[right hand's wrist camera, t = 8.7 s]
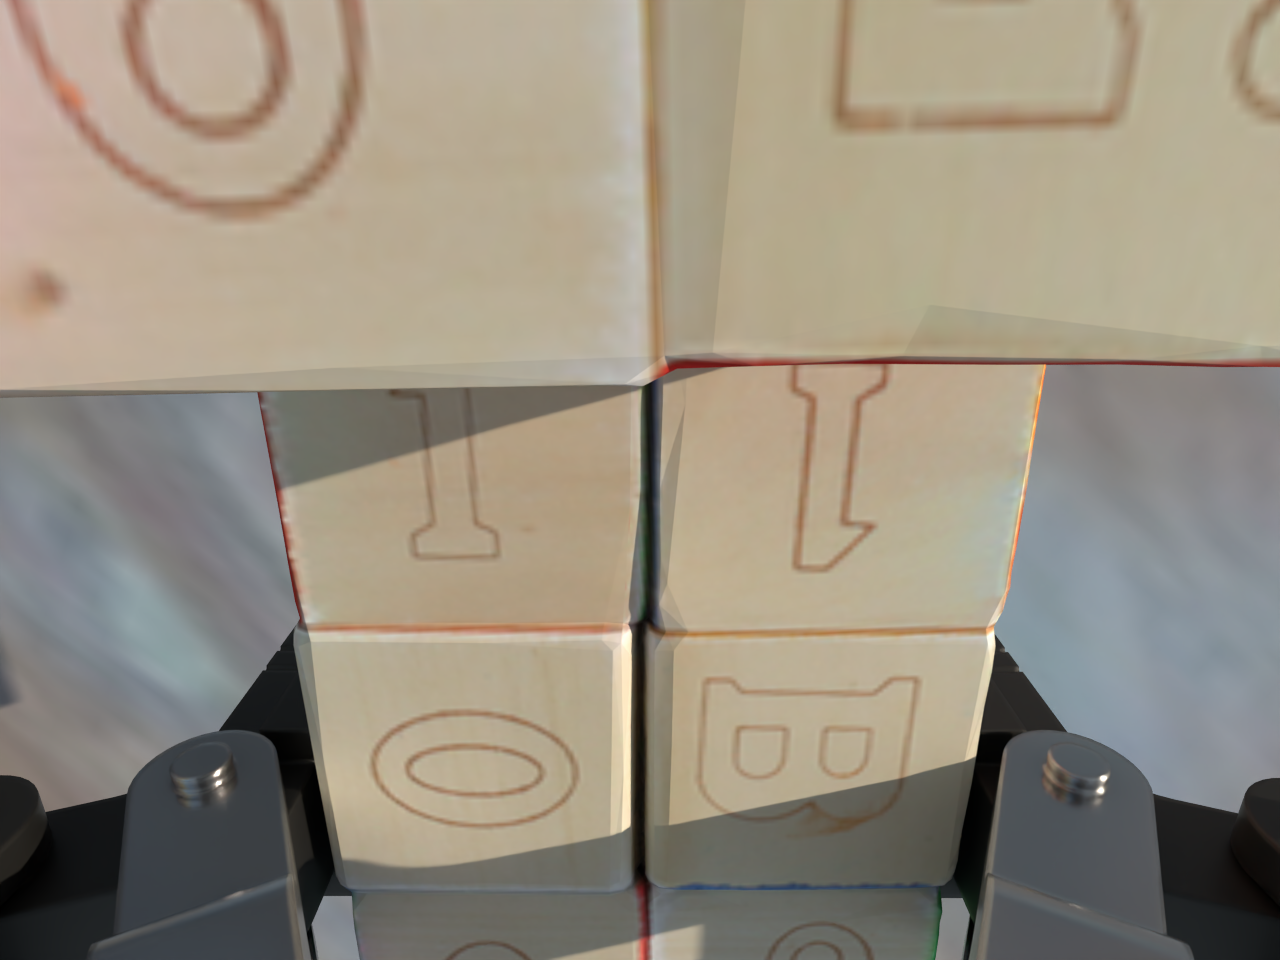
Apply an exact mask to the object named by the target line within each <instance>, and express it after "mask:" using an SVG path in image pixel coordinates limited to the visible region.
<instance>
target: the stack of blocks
mask: <svg viewBox="0 0 1280 960" xmlns="http://www.w3.org/2000/svg"><path fill="white" fill-rule="evenodd" d="M1075 364H1125V365H1165V366H1206V367H1280V0H0V398H5V397H52V396H99V395H146V394H193V393H240V392H258V398H259V403H260V409H261V414H262V420H263V425H264V431H265V436H266V442H267V447H268V453H269V458H270V463H271V469H272V474H273V480H274V485H275V491H276V496H277V502H278V507H279V513H280V519H281V524H282V530H283V536H284V542H285V547H286V553H287V559H288V565H289V570H290V576H291V581H292V587H293V592H294V597H295V602H296V606H297V609H298V613H299V616H300V620H299V621H298V623H297V625H296V627H295V628H294V650H295V656H296V661H297V667H298V672H299V678H300V683H301V689H302V694H303V700H304V705H305V711H306V716H307V722H308V727H309V732H310V738H311V743H312V749H313V754H314V760H315V765H316V771H317V776H318V782H319V787H320V792H321V798H322V803H323V808H324V814H325V819H326V824H327V830H328V835H329V840H330V846H331V851H332V856H333V862H334V867H335V873H336V876H337V878H338V880H339V882H340V884H341V885H342V886H344V887H345V888H347V889H348V890H349V891H351V892H352V904H353V918H354V926H355V934H356V940H357V945H358V951H359V957H360V960H935V957H936V950H937V944H938V937H939V924H940V919H941V915H942V903H941V890H940V886H942V885H945V884H946V883H947V882H948V881H949V880H951V879H952V877H953V874H954V872H955V868H956V864H957V861H958V854H959V848H960V841H961V834H962V828H963V823H964V818H965V813H966V808H967V803H968V798H969V793H970V788H971V783H972V778H973V771H974V765H975V759H976V753H977V747H978V741H979V735H980V729H981V723H982V717H983V710H984V705H985V701H986V696H987V691H988V687H989V682H990V677H991V673H992V667H993V660H994V653H995V636H994V625H995V623H996V622H997V620H998V618H999V616H1000V615H1001V613H1002V611H1003V608H1004V604H1005V600H1006V597H1007V594H1008V592H1009V589H1010V582H1011V570H1012V566H1013V561H1014V556H1015V551H1016V546H1017V541H1018V535H1019V529H1020V524H1021V518H1022V512H1023V506H1024V501H1025V495H1026V488H1027V482H1028V475H1029V468H1030V461H1031V454H1032V447H1033V441H1034V435H1035V428H1036V422H1037V416H1038V410H1039V404H1040V398H1041V391H1042V386H1043V380H1044V374H1045V368H1046V365H1075Z"/></svg>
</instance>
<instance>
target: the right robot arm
mask: <svg viewBox="0 0 1280 960" xmlns="http://www.w3.org/2000/svg"><path fill="white" fill-rule="evenodd" d="M295 627H296V626H295ZM295 627H294V628H295ZM994 636H995V653H994V660H993V667H992V673H991V677H990V682H989V687H988V691H987V696H986V701H985V705H984V710H983V717H982V723H981V729H980V735H979V741H978V747H977V753H976V759H975V765H974V771H973V778H972V783H971V788H970V793H969V798H968V803H967V808H966V813H965V818H964V823H963V828H962V834H961V841H960V848H959V854H958V861H957V864H956V868H955V872H954V874H953V877H952V879H951V880H949V881H948V882H947V883H946V884H945V885H942V886H940V890H941V898H963V900H964V902H965V905H966V907H967V909H968V911H969V914H970V917H969V921H968V926H967V931H966V936H965V941H964V947H963V954H962V960H1280V778H1271V779H1265V780H1261V781H1258V782H1256V783H1254V784H1253V785H1251V786H1250V787H1249V788H1248V790H1247V791H1246V793H1245V796H1244V799H1243V801H1242V804H1241V807H1240V810H1239V813H1234V812H1229V811H1224V810H1220V809H1215V808H1211V807H1206V806H1202V805H1197V804H1193V803H1188V802H1183V801H1179V800H1174V799H1170V798H1166V797H1163V796H1159V795H1156V794H1153V793H1152V788H1151V786H1150V784H1149V782H1148V781H1147V779H1146V778H1145V776H1144V775H1143V774H1142V772H1141V771H1140V770H1139V769H1138V768H1137V767H1136V766H1135V765H1134V764H1133V763H1131V762H1130V761H1129V760H1128V759H1126V758H1125V757H1124V756H1122V755H1121V754H1119V753H1118V752H1116V751H1114V750H1113V749H1111V748H1109V747H1107V746H1105V745H1103V744H1101V743H1099V742H1096V741H1094V740H1092V739H1089V738H1086V737H1083V736H1080V735H1077V734H1072V733H1068V732H1067V731H1066V730H1065V728H1064V727H1063V726H1062V724H1061V723H1060V722H1059V720H1058V719H1057V718H1056V716H1055V715H1054V714H1053V712H1052V711H1051V710H1050V708H1049V707H1048V706H1047V704H1046V703H1045V701H1044V700H1043V699H1042V697H1041V696H1040V695H1039V693H1038V692H1037V691H1036V689H1035V688H1034V687H1033V685H1032V684H1031V683H1030V681H1029V680H1028V679H1027V677H1026V676H1025V674H1024V673H1023V672H1019V666H1018V665H1017V664H1016V662H1015V661H1014V660H1013V658H1012V657H1011V656H1010V654H1009V653H1008V652H1005V647H1004V646H1003V645H1002V643H1001V642H1000V641H999V639H998V638H997V637H996V635H995V634H994ZM323 896H352V892H351V891H349V890H348V889H347V888H345V887H344V886H342V885H341V884H340V882H339V880H338V878H337V876H336V873H335V867H334V862H333V856H332V851H331V846H330V840H329V835H328V830H327V824H326V819H325V814H324V808H323V803H322V798H321V792H320V787H319V782H318V776H317V771H316V765H315V760H314V754H313V749H312V743H311V738H310V732H309V727H308V722H307V716H306V711H305V705H304V700H303V694H302V689H301V683H300V678H299V672H298V667H297V661H296V656H295V650H294V629H293V630H292V632H291V633H290V634H289V636H288V637H287V638H286V640H285V641H284V642H283V644H282V645H281V650H280V651H277V652H276V653H275V655H274V656H273V658H272V659H271V660H270V662H269V663H268V664H267V669H266V671H262V673H261V674H260V675H259V677H258V678H257V679H256V681H255V682H254V683H253V685H252V686H251V688H250V689H249V690H248V692H247V693H246V694H245V696H244V697H243V699H242V700H241V701H240V703H239V704H238V705H237V707H236V708H235V709H234V711H233V712H232V714H231V715H230V716H229V718H228V719H227V720H226V722H225V723H224V724H223V726H222V727H221V729H220V730H219V731H217V732H212V733H208V734H203V735H200V736H197V737H194V738H191V739H188V740H186V741H184V742H181V743H179V744H177V745H175V746H173V747H171V748H169V749H167V750H166V751H164V752H162V753H161V754H159V755H158V756H156V757H155V758H154V759H152V760H151V761H150V762H149V763H147V764H146V765H145V766H144V767H143V768H142V769H141V770H140V771H139V772H138V774H137V775H136V776H135V778H134V779H133V781H132V783H131V784H130V786H129V788H128V793H127V794H124V795H121V796H117V797H113V798H108V799H103V800H99V801H94V802H90V803H85V804H81V805H76V806H72V807H67V808H62V809H58V810H53V811H49V812H45V810H44V807H43V804H42V801H41V798H40V796H39V793H38V790H37V788H36V787H35V785H34V784H33V783H31V782H30V781H29V780H26V779H24V778H21V777H16V776H7V775H0V960H318V954H317V947H316V941H315V936H314V931H313V926H312V922H313V919H314V917H315V915H316V912H317V910H318V908H319V905H320V903H321V901H322V898H323Z"/></svg>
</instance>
